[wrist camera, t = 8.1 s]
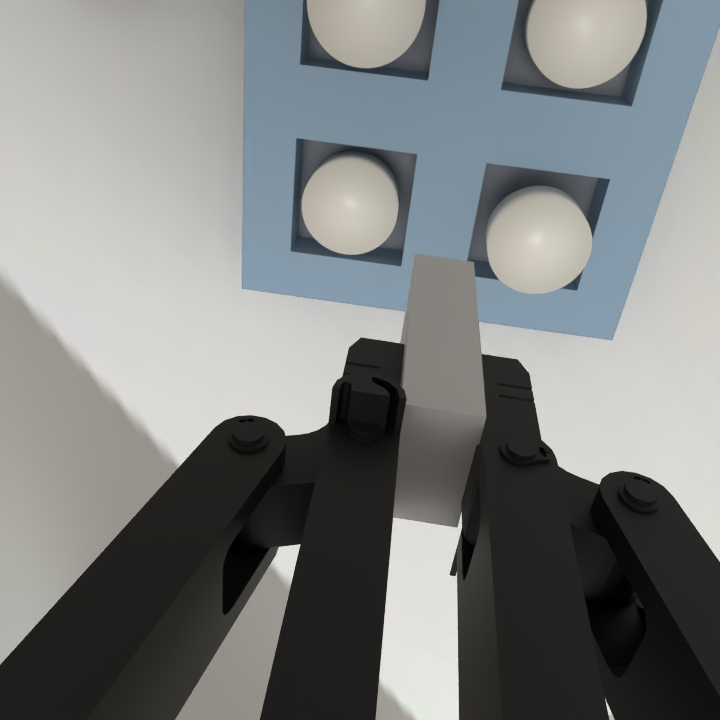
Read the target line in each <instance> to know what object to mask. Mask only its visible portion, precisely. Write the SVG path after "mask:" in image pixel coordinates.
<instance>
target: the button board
mask: <svg viewBox="0 0 720 720" xmlns="http://www.w3.org/2000/svg"><path fill="white" fill-rule="evenodd" d="M530 1H531V0H426V7H425V13H424V17H423V21H422V24H421V27H420V30H419V32H418V34H417V36H416V38H415V40H414V41H413V43H412V44H411V45H410V47H409V48H408V49H407V50H406V51H405V52H404V53H403V54H402V55H401V56H399V57H398V58H397V59H395V60H394V61H392V62H390V63H388V64H386V65H383V66H379V67H375V68H357V67H352V66H349V65H346V64H344V63H342V62H340V61H338V60H337V59H335V58H334V57H332V56H331V55H330V54H329V53H328V52H327V51H326V50H325V49H324V48H323V47H322V46H321V44H320V43H319V41H318V40H317V38H316V36H315V34H314V32H313V30H312V27H311V25H310V21H309V17H308V11H307V0H245V59H244V145H243V230H242V289H247V290H255V291H262V292H269V293H276V294H283V295H290V296H298V297H305V298H312V299H319V300H326V301H334V302H341V303H348V304H355V305H362V306H369V307H377V308H384V309H391V310H398V311H405V312H406V307H407V301H408V295H409V289H410V283H411V277H412V271H413V265H414V259H415V253H417V254H424V255H430V256H437V257H444V258H451V259H458V260H464V261H471V262H474V269H475V282H476V294H477V306H478V319H479V322H484V323H491V324H499V325H506V326H513V327H520V328H527V329H535V330H542V331H549V332H556V333H563V334H570V335H578V336H585V337H592V338H599V339H606V340H613V337H614V334H615V331H616V328H617V326H618V323H619V320H620V317H621V314H622V311H623V308H624V305H625V302H626V299H627V296H628V293H629V290H630V287H631V284H632V282H633V279H634V276H635V273H636V270H637V267H638V264H639V261H640V258H641V255H642V252H643V249H644V246H645V243H646V240H647V238H648V235H649V232H650V229H651V226H652V223H653V220H654V217H655V214H656V211H657V208H658V205H659V202H660V199H661V196H662V194H663V191H664V188H665V185H666V182H667V179H668V176H669V173H670V170H671V167H672V164H673V161H674V158H675V155H676V152H677V150H678V147H679V144H680V141H681V138H682V135H683V132H684V129H685V126H686V123H687V120H688V117H689V114H690V111H691V108H692V105H693V103H694V100H695V97H696V94H697V91H698V88H699V85H700V82H701V79H702V76H703V73H704V70H705V67H706V64H707V61H708V59H709V56H710V53H711V50H712V47H713V44H714V41H715V38H716V35H717V32H718V29H719V26H720V0H645V3H646V10H647V21H646V28H645V33H644V36H643V39H642V42H641V44H640V47H639V49H638V51H637V52H636V54H635V55H634V57H633V59H632V60H631V61H630V62H629V64H628V65H627V66H626V67H625V68H624V69H623V70H622V71H621V72H620V73H618V74H617V75H616V76H614V77H613V78H611V79H610V80H608V81H606V82H604V83H602V84H599V85H596V86H593V87H589V88H580V89H578V88H568V87H564V86H561V85H558V84H556V83H554V82H553V81H551V80H550V79H548V78H547V77H546V76H545V75H544V74H543V73H542V72H541V71H540V70H539V68H538V67H537V66H536V64H535V63H534V62H533V60H532V59H531V57H530V55H529V53H528V50H527V47H526V43H525V37H524V23H525V16H526V13H527V9H528V6H529V4H530ZM345 151H359V152H364V153H367V154H370V155H372V156H374V157H376V158H378V159H379V160H381V161H382V162H383V163H384V164H385V165H386V166H387V167H388V168H389V169H390V170H391V172H392V173H393V175H394V177H395V179H396V181H397V184H398V188H399V193H400V203H399V209H398V215H397V220H396V224H395V226H394V229H393V231H392V233H391V234H390V236H389V237H388V238H387V239H386V240H385V242H384V243H382V244H381V245H380V246H379V247H377V248H375V249H374V250H371V251H369V252H366V253H363V254H357V255H347V254H341V253H337V252H334V251H332V250H329V249H327V248H326V247H324V246H323V245H321V244H320V243H319V242H318V241H317V240H316V239H315V238H314V237H313V236H312V235H311V233H310V232H309V230H308V229H307V227H306V224H305V222H304V219H303V215H302V196H303V193H304V190H305V187H306V185H307V183H308V182H309V180H310V178H311V176H312V175H313V173H314V171H315V170H316V168H317V167H318V166H319V165H320V164H321V163H322V162H323V161H324V160H326V159H327V158H328V157H330V156H332V155H334V154H337V153H340V152H345ZM539 185H541V186H550V187H554V188H557V189H560V190H562V191H564V192H566V193H567V194H568V195H570V196H571V197H572V198H573V199H574V200H575V201H576V202H577V203H578V205H579V206H580V208H581V210H582V212H583V214H584V216H585V218H586V220H587V222H588V224H589V226H590V229H591V233H592V250H591V254H590V257H589V260H588V262H587V264H586V266H585V267H584V269H583V270H582V272H581V273H580V274H579V275H578V276H577V277H576V278H575V279H574V280H573V281H571V282H570V283H569V284H567V285H566V286H564V287H562V288H560V289H557V290H555V291H552V292H548V293H542V294H528V293H523V292H519V291H516V290H514V289H512V288H510V287H508V286H507V285H505V284H504V283H503V282H501V281H500V280H499V279H498V277H497V276H496V275H495V273H494V272H493V270H492V268H491V266H490V263H489V260H488V253H487V246H486V227H487V223H488V220H489V218H490V215H491V214H492V212H493V210H494V209H495V208H496V206H497V205H498V204H499V203H500V202H501V201H502V200H503V199H504V198H505V197H507V196H508V195H510V194H511V193H513V192H515V191H517V190H519V189H522V188H525V187H530V186H539Z"/></svg>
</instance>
